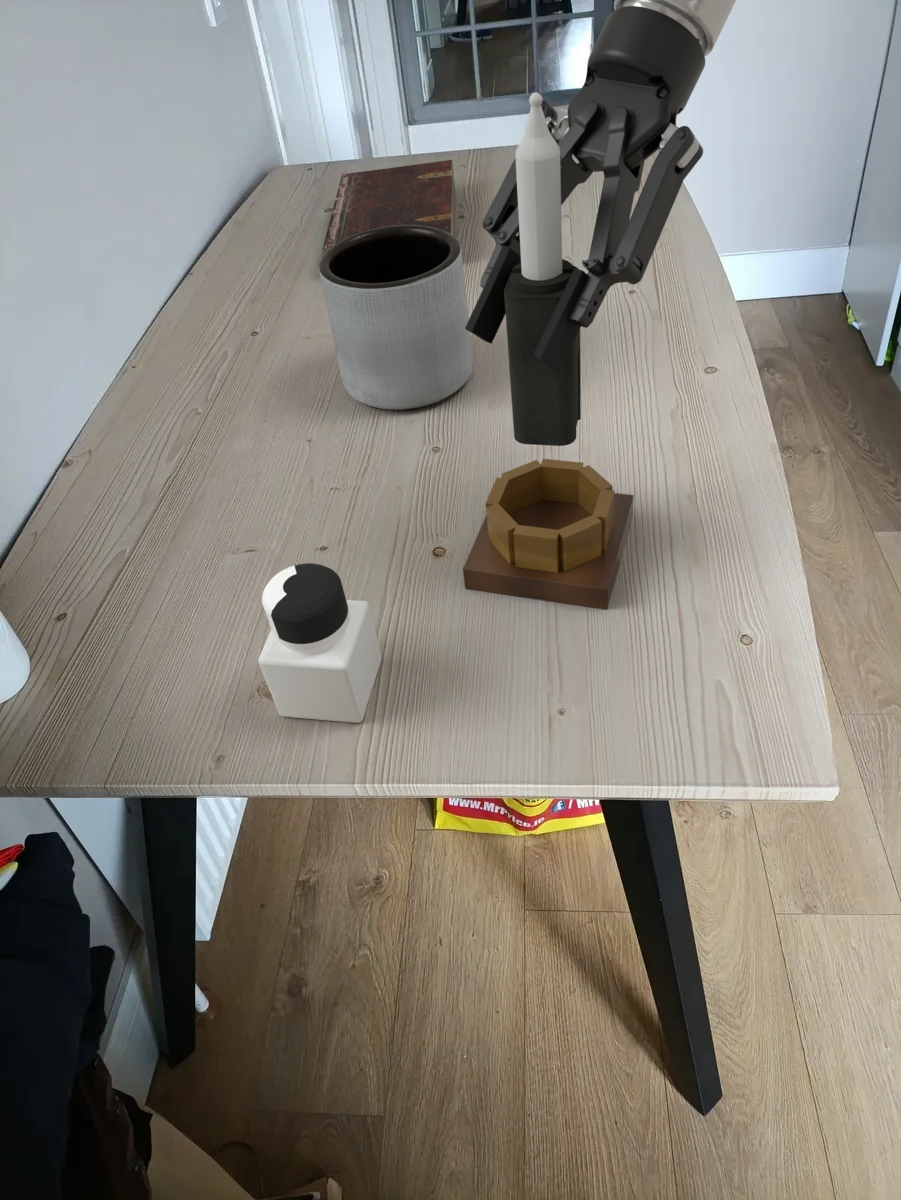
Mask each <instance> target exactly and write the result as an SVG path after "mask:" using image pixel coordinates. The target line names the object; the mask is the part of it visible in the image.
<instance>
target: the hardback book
mask: <svg viewBox="0 0 901 1200" xmlns="http://www.w3.org/2000/svg"><path fill="white" fill-rule="evenodd" d="M335 196H336V197H335V199H334V203H333V206H332V207H333V208H332V211H331V216H330V219H329V222H328V227H327V231H326V234H325V238H324V242H323V245H322V253H321V254H322V255H321V257H322V256H323V255H324V253H325V252H326V251H327V250H328V249H330V248H331V247H332V246H334V245H335V244H337V243H338V242H340V241H342V240H344V239H346V238H348V237H350V236H352V235H355V234H358V233H361V232H364V231H368V230H371V229H376V228H381V227H387V226H395V225H422V226H429V227H434V228H438V229H441V230H444V231H446V232H448V233H450V234H452V235H453V236H455V221H456V220H455V219H456V218H455V215H456V213H455V210H456V207H455V206H456V187H455V175H454V164H453V159H446V160H440V161H432V162H423V163H417V164H410V165H409V164H408V165H402V166H395V167H386V168H380V169H371V170H365V171H364V170H363V171H355V172H348V173H342V174H341V176H340V181H339V184H338V189H337V192H336V195H335Z"/></svg>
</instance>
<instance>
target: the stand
mask: <svg viewBox="0 0 901 1200" xmlns="http://www.w3.org/2000/svg"><path fill="white" fill-rule="evenodd" d="M500 476H501V477H497V476H496V478H495V480H494V483H493V485H492V487H491V490H490V492H489V493H488V496H487V499H486V501H485V505H484V506H485V513H486V514H485V517H484V520H483V521H482V524H481V526H480V529H479V531H478V533H477V535H476V538H475V540H474V542H473V545H472V547H471V549H470V551H469V553H468V556H467V559H466V560H465V563H464V565H463V567H462V574H463V581H464V588H465V589H466V590H473V591H477V592H486V593H493V594H498V595H505V596H506V595H507V596H512V597H519V598H520V597H521V598H525V599H526V598H527V599H533V600H541V601H545V602H554V603H560V604H567V605H573V606H579V607H587V608H593V609H601V610H608V609H609V605H610V602H611V598H612V594H613V591H614V587H615V584H616V579H617V575H618V572H619V568H620V565H621V560H622V557H623V553H624V549H625V546H626V542H627V538H628V535H629V530H630V526H631V523H632V520H633V516H634V499H635V496H634V494H629V493H628V494H627V493H621V492H620V493H618V492H615V490H613V485H612V484H611V483H610V482H609V481H608V480H607V479H605V477H604V476H602V475H601V474H600V473H599V472H598V471H596V470H595V468H593V467H592V466H591V465H589V464H588V465H585V466H584V462H580V461H570V460H561V459H551V458H542V460H541V463H540V462H539V461H538V460H537V459H534V460H531V461H530V462H527V463H524V464H522V465H520V466H517V467H515V468H513V469H510V470H508V471H507V470H506V471H505V472H503V473H501V474H500Z"/></svg>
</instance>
